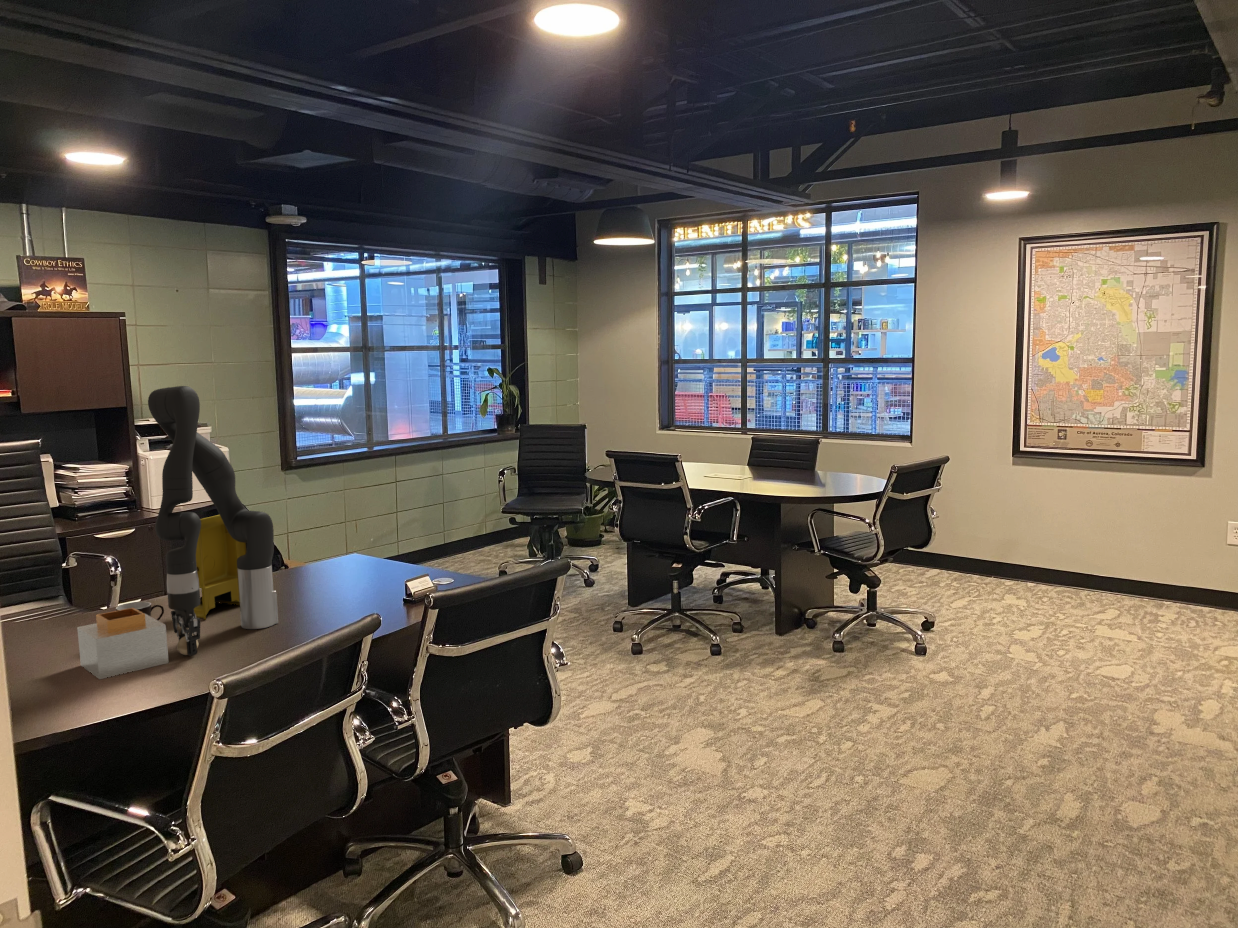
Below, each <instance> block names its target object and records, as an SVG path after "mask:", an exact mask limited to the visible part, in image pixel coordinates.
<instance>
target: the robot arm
mask: <svg viewBox="0 0 1238 928" xmlns="http://www.w3.org/2000/svg"><path fill="white" fill-rule="evenodd" d="M200 403H201V401H200V398H199V396H198V393H197V392H196V391H195V389H194V388H193V387H191V386H187V385H177V386H170V387H169V386H168V387H163V388H158V389H154V390H153V391H151V392H150V393H149V395H148V399H147V405H148V407H147V408H148V410H149V412H150V414H151V416H152V418H153V419H154V421H155V422H156V423H157V424H158V426H159V427H160V429H162V431H163V432H164V433H165V434H166V436H167V437H168V438H169V439H170V440H171V442H172V445H171V447H170V450H169V452H168V454H167V457H166V458H165V461H164V464H163V468H162V474H161V475H162V477H161V480H162V481H161V482H162V483H161V484H162V494H161V496H162V497H161V503H160V508H159V511H158V514H157V517H156V521H155V525H154V530H155V534H156V536H157V537H158V539H160V540H161V541H164V542H167V541H184V540H185V542H184V544H183V546H181V547H176V548H172V549H170V550H168V551H167V552H166V554H165V564H166V565H165V566H166V591H167V603H168V608H169V610H171V611H170V615H171V620H172V621H171V622H172V626H173V633H174V634H176V637H177V638H178V641H179V640H180V639H181V638H182V637H184V636H185V637H186V641H187V654H188V655H187V656H189V657H191V656H195V655H197V654H198V649H197V644H196V640H197V641H198V640H200V639H201V618H196V614H195V612H194V608H195V607H197V606H199V605H200V598H201V595H200V593H201V590H200V588H199V578H198V574H197V565H196V548H197V542H198V537H199V534H200V529H201V520H200V519H201V518H200V516H199V515H198V514H197V513H196V512H193V511H187V512H185V511H183V512H173V511H174V510H175V508H176V506H179V505H182V504H186V503H190V502H191V501H192V500H193V493H194V492H193V485H194V484H193V482H194V481H193V475H194V477H196V479H197V481H198V482H199V484H200V486H201V487H202V488H203V489H204V491H205V492H206V495H207V496H208V497H209V499H210V501H211V502H212V504H213V506H214V507H215V509H216V510H217V513H218V515H220V516H221V518H222V520H223V523H224V525H225V527H226V529H227V531H228V532H229V534H230V535H231V537H232V538H233V539H235V540H236V541H238V542H243V543H246V554H245V555H242V556H240V557H239V558H238V559H237V572H238V586H239V601H240V605H239V612H240V613H239V615H240V625H241V628H242V629H244V630H246V629H247V630H257V629H265V628H268V627H269V628H270V627H272V626H274V625H276V624H279V611H278V598H277V597H278V595H277V590H274V581H273V565H272V560H273V556H274V552H275V551H274V549H275V548H274V547H275V542H274V541H275V540H274V539H275V537H274V536H275V535H274V524H273V519H272V518H271V516H270V515H269V514H268V513H267V512H265V511H257V510H249V509H247V508H246V507H245V505H244V504H243V503H242V501H241V499H240V498H239V496H238V494H237V492H236V475H235V470H234V468H233V466H232V464H231V463H230V461H229V459H228V457H227V456H226V455H225V453H224V452H223V450H222V449H220V447H218V445H216V444H215V443H213V442H211V440H209V439H208V438H206V437H204V435H202V434H200V433H199V432H198V427H199V426H198V425H199V419H200V408H201V407H200V406H201V404H200Z"/></svg>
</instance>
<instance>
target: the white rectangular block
mask: <svg viewBox="0 0 1238 928" xmlns="http://www.w3.org/2000/svg"><path fill="white" fill-rule="evenodd" d="M95 619H96V620H95V621H96V623H92V624H87V625H80V626H77V627H76V628H77V639H78V641H77V642H78V651H79V660H80V662H79V663H80V666H81V667H82V668H83V667H84V669H85V670H86V671H88V673H90V672H91V673H92V674H91V673H90V674H91V675H92V676H94V677H95V676H96V677H95V678H97V679H98V680H103V679H107V677H108V678H111V676H112V677H115V675H116V676H120V675H124V674H127V672H129V673H132V671H133V672H136V671H141V670H145V669H150V668H154V667H156V666H161V665H166V664H169V652H168V639H167V638H168V637H167V636H168V635H167V626H166V624H165V623H163V622H162V621H160V620H159V621H158V620H157V618H154V617H152V616H151V617H150V616H149V615H147V614H144V613H142V612H140V611H139V610H137V609H135V608H128V609H123V610H118V611H116V610H114V611H109V612H103V613H98V614H96V615H95ZM123 673H124V674H123ZM119 674H120V675H119Z"/></svg>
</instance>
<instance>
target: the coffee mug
mask: <svg viewBox="0 0 1238 928" xmlns="http://www.w3.org/2000/svg"><path fill="white" fill-rule="evenodd" d="M128 608H135V609H137V610H139V611H140V612H142V613H144V614H147V615H149V616H150V617H152V611H153V610H154V609H155V608H160V610H161V613H160V615H159V616H158V617H157V618H156V620H158V621H160V620H161V618H162V617H163V615H164V613H165V608H164V607H163V606H162V605H160V604H154V605H153V606H152V602H149V601H133V602H132V601H131V602H127V603H123V604H119V605H118V606H115V611H118V610H123V609H128Z"/></svg>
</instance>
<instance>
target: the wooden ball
mask: <svg viewBox="0 0 1238 928" xmlns="http://www.w3.org/2000/svg"><path fill="white" fill-rule="evenodd" d="M196 644H197V650H198V648H199V641H198V639H197V640H196ZM176 646H177V651H178V652H179V653H180V654H181V655H184V656H189V655H188V654H187V641H186V637H185V636H184V637H182V638H181V639H180V640H179V639H178V642H177V645H176Z"/></svg>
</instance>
